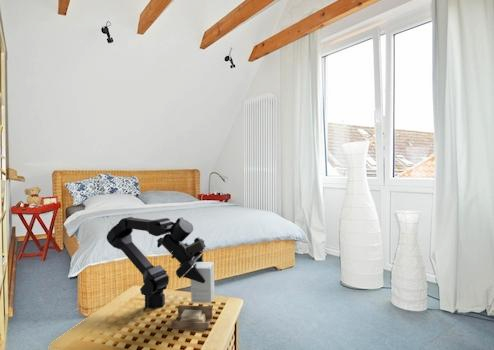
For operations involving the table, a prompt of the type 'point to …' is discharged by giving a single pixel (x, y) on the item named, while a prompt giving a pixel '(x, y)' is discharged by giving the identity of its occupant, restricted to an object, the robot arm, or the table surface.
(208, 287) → the supplement box
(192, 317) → the offcut stack
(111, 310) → the table surface
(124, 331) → the table surface
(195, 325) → the tray
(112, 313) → the table surface
